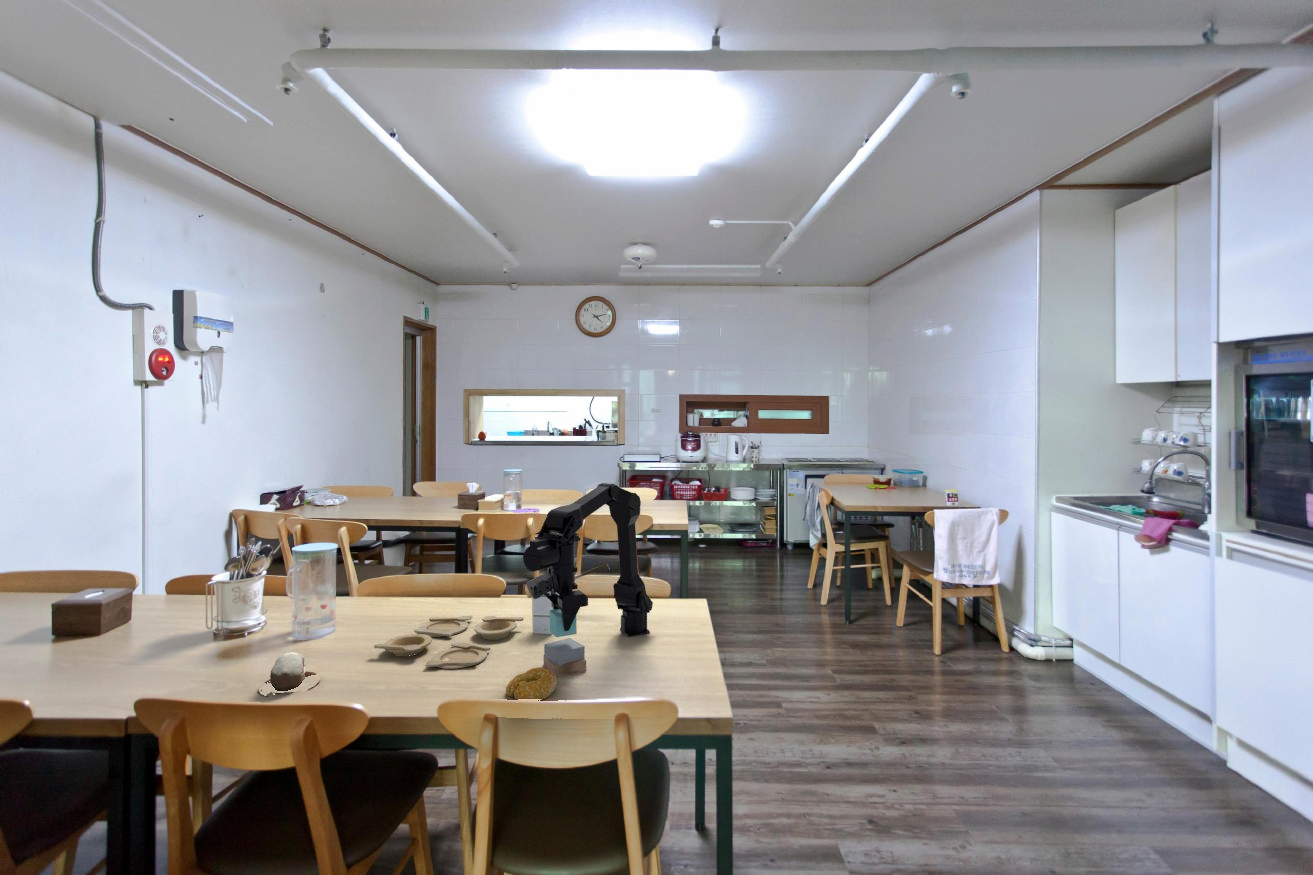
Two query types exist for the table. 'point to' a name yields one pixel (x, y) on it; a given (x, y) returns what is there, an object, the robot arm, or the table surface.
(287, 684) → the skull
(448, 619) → the tableware set
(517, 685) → the bagel
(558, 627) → the teal cube
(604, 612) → the table surface
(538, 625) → the syrup box
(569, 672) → the walnut slab
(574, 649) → the grey square block
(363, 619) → the table surface
